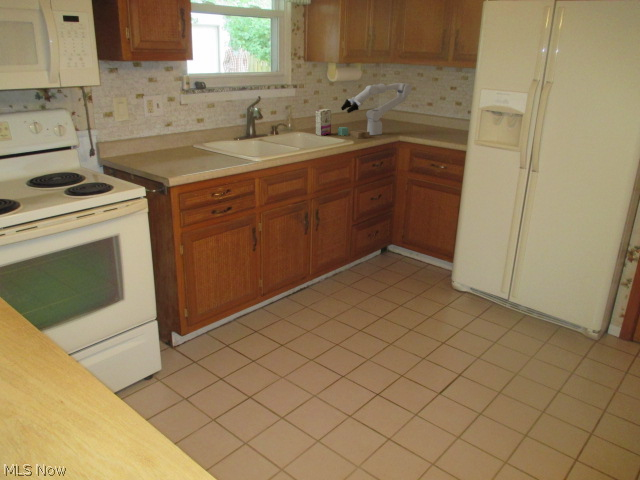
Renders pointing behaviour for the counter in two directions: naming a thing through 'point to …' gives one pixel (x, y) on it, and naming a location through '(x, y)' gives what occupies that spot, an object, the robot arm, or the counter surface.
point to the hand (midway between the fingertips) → (344, 110)
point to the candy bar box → (323, 122)
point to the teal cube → (342, 131)
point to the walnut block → (359, 134)
